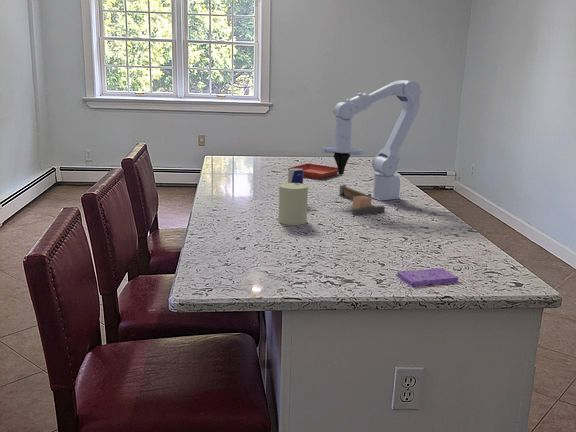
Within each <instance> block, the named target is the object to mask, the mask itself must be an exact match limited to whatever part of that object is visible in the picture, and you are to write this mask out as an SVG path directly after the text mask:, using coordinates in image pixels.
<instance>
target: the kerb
mask: <svg viewBox="0 0 576 432" xmlns="http://www.w3.org/2000/svg"><path fill="white" fill-rule="evenodd" d="M385 207H386V206H384V205H375V206H371V207H365V208H355V209H352V215H354V216H360V215H368V214H376V213H377V214H378V213H385V212H386V211H385Z"/></svg>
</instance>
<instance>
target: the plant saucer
mask: <svg viewBox="0 0 576 432" xmlns="http://www.w3.org/2000/svg"><path fill="white" fill-rule="evenodd" d="M290 168H301V169H303V178H310V179H311V178H312V179H317V180H322V179H325V178H329V177H332V176H335V175H337V174H339V172H338V167H337V166H336V167H335V166H329V165H323V164H315V163H310V162H309V163H308V162H307V163H303V164H299V165H295V166H292V167H287V170H288V171H289V169H290Z"/></svg>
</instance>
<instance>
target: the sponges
mask: <svg viewBox="0 0 576 432" xmlns="http://www.w3.org/2000/svg"><path fill="white" fill-rule="evenodd" d="M396 277H397V278H398V279H400V280H401V279H402V281H403V282H404V281H405V282H404V283H406V284H407V283H408V284H407V285H408V286H410V285H411V286H410V287H420V285H422V286H428V285H429V284H431V285H439V284H440V283H441V284H449V283H451V284H452V283H456V282H459V276H457V275H455V274H454V273H451V272H449V271H447V270H446V269H444V268H443V267H438V268H437V267H436V268H429V269H428V268H426V269H425V268H424V269H413V270H399V271H398V270H397V275H396ZM441 284H440V285H441Z"/></svg>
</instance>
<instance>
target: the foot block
mask: <svg viewBox="0 0 576 432" xmlns="http://www.w3.org/2000/svg"><path fill="white" fill-rule="evenodd" d="M351 207H352V208H351V209H352V210H353V209H355V208H365V207H372V197H371V198H369V197H366V196H356V197H353V201H352V206H351Z"/></svg>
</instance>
